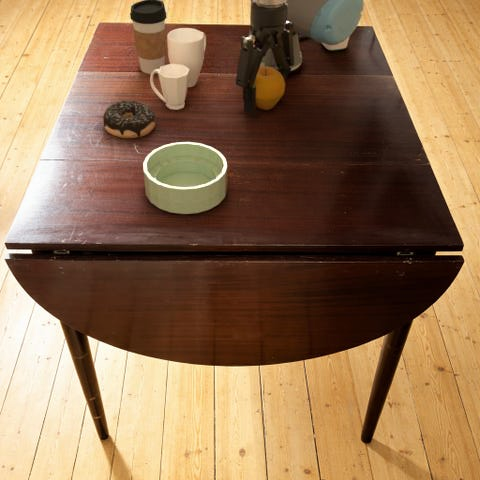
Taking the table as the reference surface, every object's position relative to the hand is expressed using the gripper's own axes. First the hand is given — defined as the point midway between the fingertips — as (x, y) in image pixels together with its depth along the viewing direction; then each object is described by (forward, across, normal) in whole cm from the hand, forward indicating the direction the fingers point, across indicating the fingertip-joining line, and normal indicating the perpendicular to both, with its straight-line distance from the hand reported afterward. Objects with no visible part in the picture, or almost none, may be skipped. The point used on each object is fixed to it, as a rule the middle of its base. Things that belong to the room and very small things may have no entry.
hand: (263, 105), depth 139 cm
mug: (+1, -3, +21) cm, 21 cm away
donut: (0, -27, +14) cm, 31 cm away
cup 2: (+1, +38, +10) cm, 39 cm away
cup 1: (+1, -14, +16) cm, 21 cm away
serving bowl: (0, -34, -12) cm, 36 cm away
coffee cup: (+1, -6, +32) cm, 33 cm away
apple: (0, 0, 0) cm, 0 cm away
